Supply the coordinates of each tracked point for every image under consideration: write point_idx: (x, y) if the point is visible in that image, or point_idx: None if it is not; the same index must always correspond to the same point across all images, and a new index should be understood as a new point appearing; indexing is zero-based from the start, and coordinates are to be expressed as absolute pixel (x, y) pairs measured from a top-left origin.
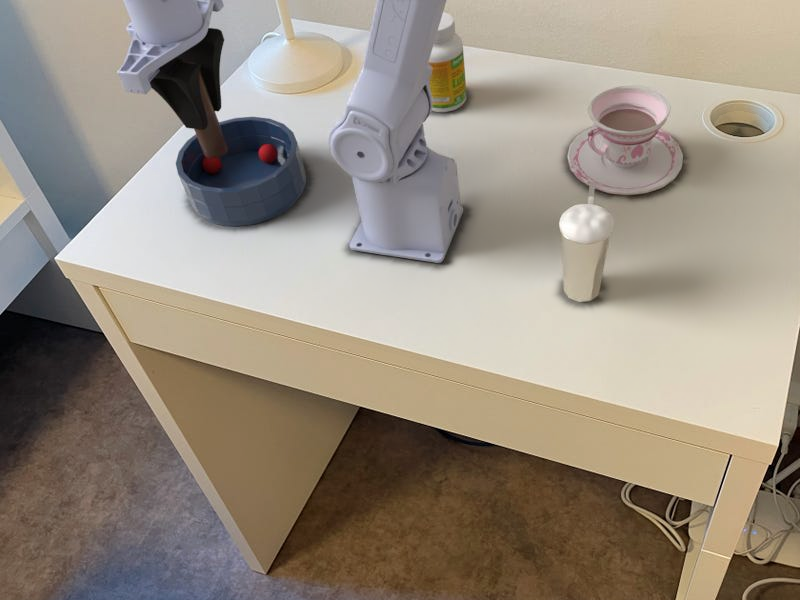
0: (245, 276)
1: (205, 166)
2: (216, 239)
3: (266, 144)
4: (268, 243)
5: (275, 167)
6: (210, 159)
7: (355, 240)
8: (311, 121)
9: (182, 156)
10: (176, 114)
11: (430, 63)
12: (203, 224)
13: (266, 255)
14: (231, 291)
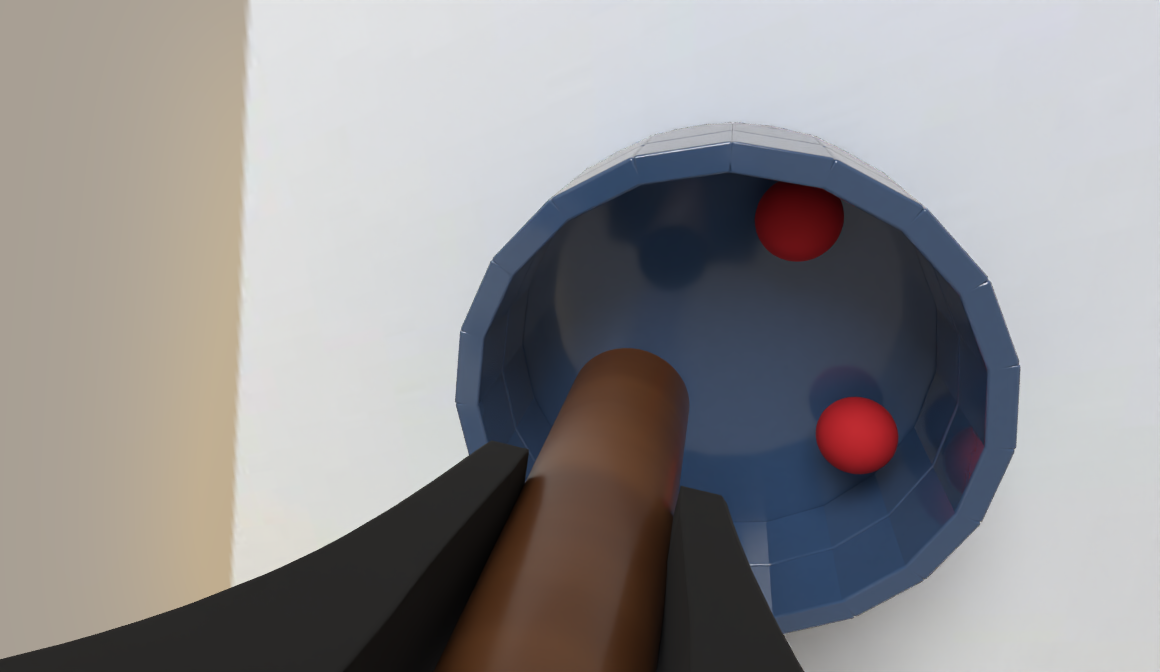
0: (322, 413)
1: (762, 208)
2: (449, 296)
3: (878, 452)
4: (454, 452)
5: (807, 439)
6: (786, 236)
7: None
8: (1150, 509)
9: (688, 176)
10: (439, 476)
11: None
12: (513, 231)
13: (407, 454)
14: (265, 387)
